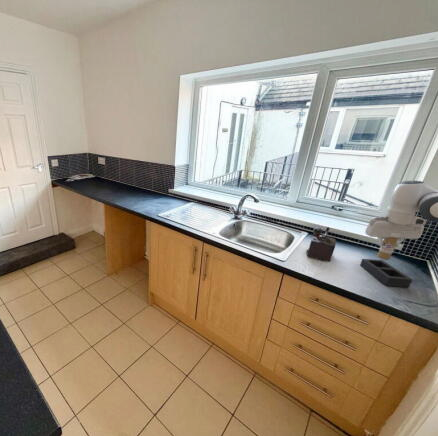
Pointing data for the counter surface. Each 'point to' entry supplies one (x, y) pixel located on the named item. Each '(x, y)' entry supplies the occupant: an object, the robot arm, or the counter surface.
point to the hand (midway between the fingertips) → (387, 245)
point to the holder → (385, 273)
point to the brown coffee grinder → (321, 245)
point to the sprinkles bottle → (388, 246)
